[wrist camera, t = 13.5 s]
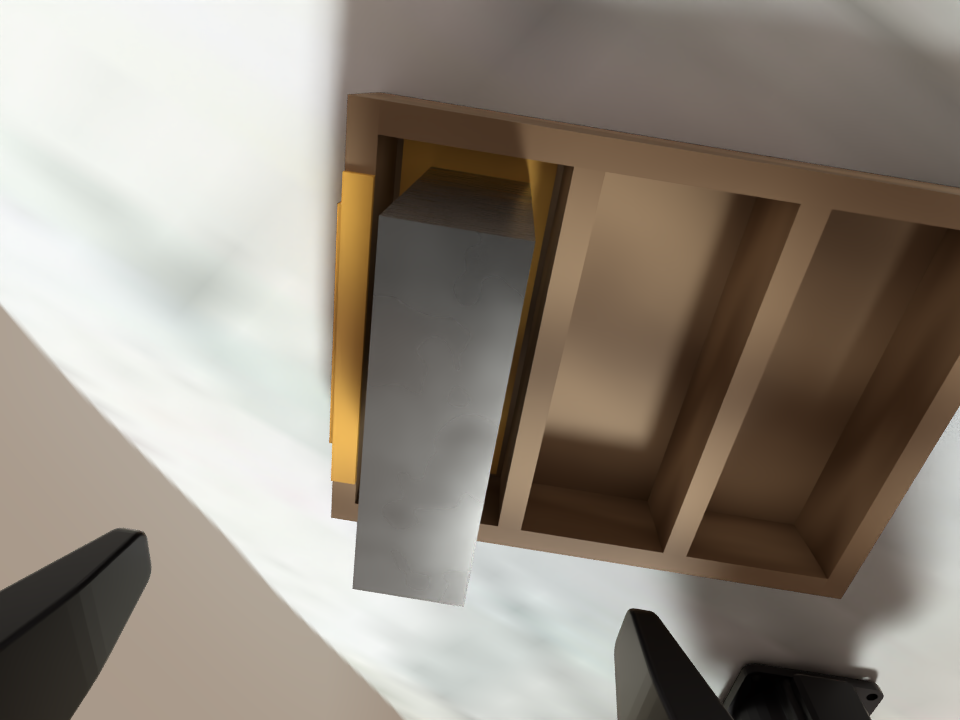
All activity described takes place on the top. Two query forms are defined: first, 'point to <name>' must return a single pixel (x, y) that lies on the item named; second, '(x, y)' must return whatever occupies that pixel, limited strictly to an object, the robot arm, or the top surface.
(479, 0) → the top surface
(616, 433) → the rack
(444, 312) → the block
